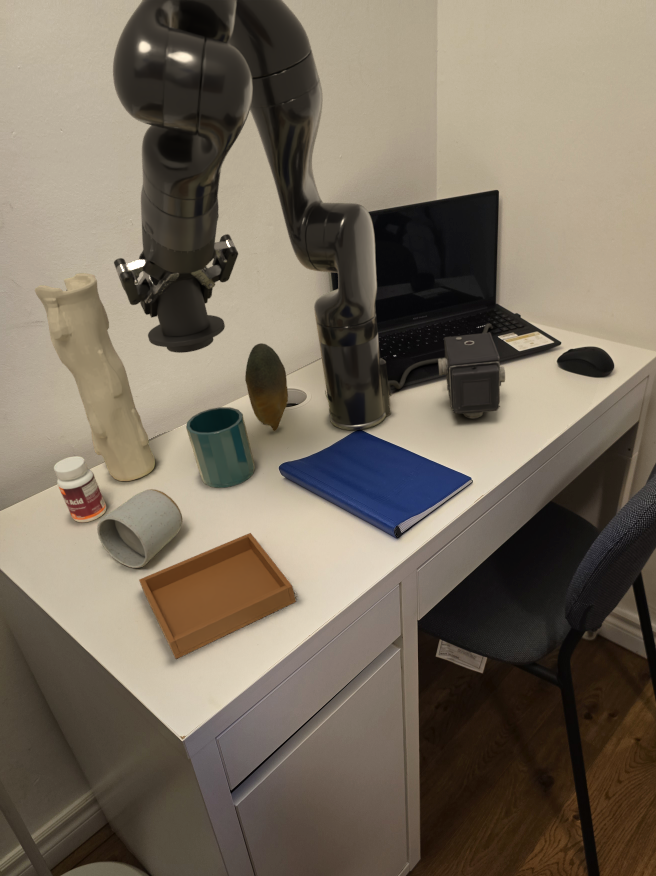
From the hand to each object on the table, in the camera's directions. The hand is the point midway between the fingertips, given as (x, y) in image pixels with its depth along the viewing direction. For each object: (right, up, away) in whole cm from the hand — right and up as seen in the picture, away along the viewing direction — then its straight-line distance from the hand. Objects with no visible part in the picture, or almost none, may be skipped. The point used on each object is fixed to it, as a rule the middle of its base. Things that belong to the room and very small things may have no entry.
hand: (176, 304), depth 83 cm
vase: (-13, -20, +19) cm, 31 cm away
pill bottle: (-15, -27, +11) cm, 33 cm away
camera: (+41, -10, +25) cm, 49 cm away
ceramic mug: (-5, -31, +3) cm, 32 cm away
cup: (+3, -21, +16) cm, 26 cm away
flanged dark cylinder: (+1, -5, +1) cm, 5 cm away
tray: (+7, -36, -7) cm, 38 cm away
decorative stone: (+9, -14, +25) cm, 30 cm away
